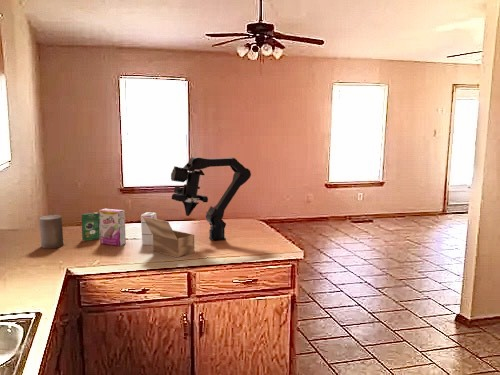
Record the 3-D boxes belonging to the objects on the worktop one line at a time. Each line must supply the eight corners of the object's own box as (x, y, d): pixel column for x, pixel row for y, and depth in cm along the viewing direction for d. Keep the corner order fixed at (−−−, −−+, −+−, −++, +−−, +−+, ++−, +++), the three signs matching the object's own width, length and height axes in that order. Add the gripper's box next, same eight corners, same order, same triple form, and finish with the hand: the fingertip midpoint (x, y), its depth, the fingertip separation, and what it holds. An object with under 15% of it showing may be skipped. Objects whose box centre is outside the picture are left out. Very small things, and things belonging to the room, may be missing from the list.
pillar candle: (68, 244, 231) (66, 213, 229) (51, 249, 222) (49, 216, 220) (52, 242, 235) (50, 211, 233) (36, 247, 226) (34, 215, 224)
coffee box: (98, 237, 243) (97, 211, 241) (100, 238, 241) (99, 212, 239) (82, 240, 238) (80, 213, 236) (84, 241, 236) (83, 214, 234)
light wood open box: (170, 246, 228) (169, 229, 227) (194, 252, 218) (194, 234, 217) (153, 250, 220) (152, 233, 219) (177, 257, 210) (177, 239, 209)
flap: (143, 216, 214) (142, 216, 214) (167, 221, 204) (167, 222, 204) (152, 233, 219) (152, 234, 219) (177, 239, 209) (176, 239, 209)
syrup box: (153, 245, 230) (152, 214, 228) (141, 244, 231) (140, 214, 229) (158, 242, 235) (157, 212, 233) (146, 241, 237) (145, 211, 234)
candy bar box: (99, 244, 231) (98, 210, 229) (106, 241, 236) (104, 208, 233) (120, 246, 228) (119, 211, 225) (126, 243, 232) (125, 209, 230)
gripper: (195, 181, 244) (190, 212, 246) (166, 179, 230) (161, 212, 231) (211, 185, 237) (205, 217, 238) (182, 183, 223) (176, 217, 224)
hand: (187, 215), depth 233 cm, fingers closed
